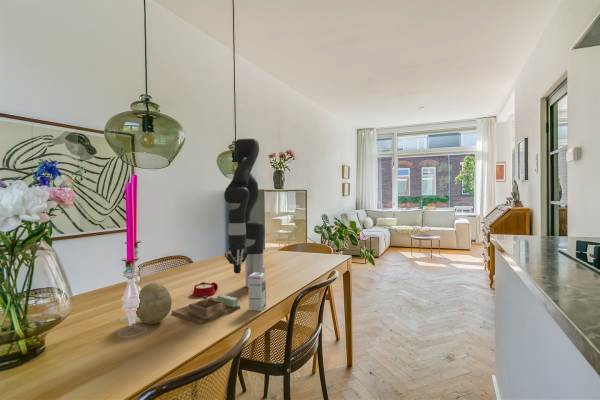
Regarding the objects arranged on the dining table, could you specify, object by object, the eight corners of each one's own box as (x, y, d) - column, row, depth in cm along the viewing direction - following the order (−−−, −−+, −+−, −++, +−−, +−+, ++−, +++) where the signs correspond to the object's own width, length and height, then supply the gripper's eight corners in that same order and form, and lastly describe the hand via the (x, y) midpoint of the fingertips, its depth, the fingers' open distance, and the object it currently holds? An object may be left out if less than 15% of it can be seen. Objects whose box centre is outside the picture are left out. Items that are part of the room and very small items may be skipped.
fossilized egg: (177, 322, 124) (177, 282, 124) (142, 332, 116) (141, 289, 115) (163, 313, 134) (163, 276, 133) (129, 322, 125) (129, 282, 124)
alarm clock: (187, 290, 154) (200, 275, 168) (189, 302, 155) (201, 286, 170) (209, 290, 153) (220, 275, 167) (210, 303, 154) (221, 286, 168)
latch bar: (221, 301, 144) (221, 294, 144) (237, 305, 138) (237, 298, 138) (217, 302, 142) (217, 295, 142) (233, 307, 136) (233, 300, 136)
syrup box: (262, 311, 135) (261, 276, 135) (248, 310, 137) (247, 275, 136) (266, 306, 141) (266, 272, 141) (253, 305, 142) (252, 272, 142)
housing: (211, 300, 149) (211, 289, 149) (240, 308, 139) (240, 297, 139) (171, 313, 133) (171, 302, 133) (201, 324, 123) (200, 311, 123)
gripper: (241, 231, 152) (242, 269, 152) (219, 234, 141) (219, 275, 141) (254, 232, 147) (254, 271, 148) (231, 235, 137) (231, 277, 137)
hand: (237, 273), depth 144 cm, fingers closed
